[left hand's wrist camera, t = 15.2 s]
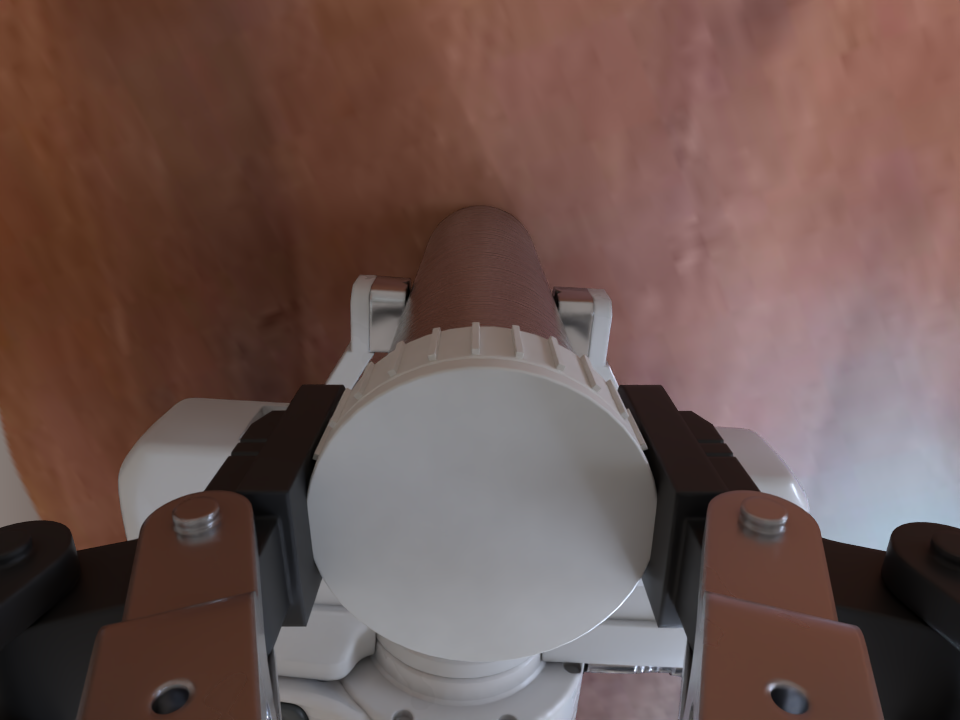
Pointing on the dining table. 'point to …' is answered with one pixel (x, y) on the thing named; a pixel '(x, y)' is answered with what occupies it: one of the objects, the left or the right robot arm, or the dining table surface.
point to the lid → (481, 496)
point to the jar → (480, 280)
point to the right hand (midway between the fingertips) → (481, 286)
